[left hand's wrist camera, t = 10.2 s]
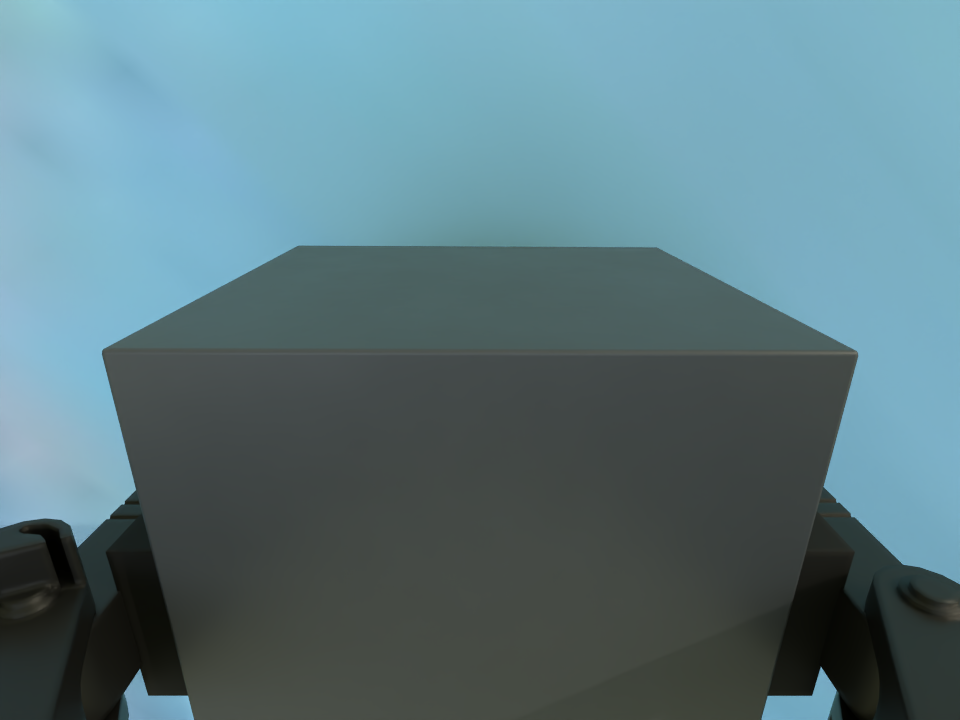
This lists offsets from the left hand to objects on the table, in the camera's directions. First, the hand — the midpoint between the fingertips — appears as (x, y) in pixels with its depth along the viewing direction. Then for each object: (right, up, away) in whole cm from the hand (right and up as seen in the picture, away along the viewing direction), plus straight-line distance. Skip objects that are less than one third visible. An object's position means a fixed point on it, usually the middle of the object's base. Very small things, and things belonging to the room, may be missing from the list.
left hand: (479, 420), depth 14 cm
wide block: (0, -31, +12) cm, 33 cm away
